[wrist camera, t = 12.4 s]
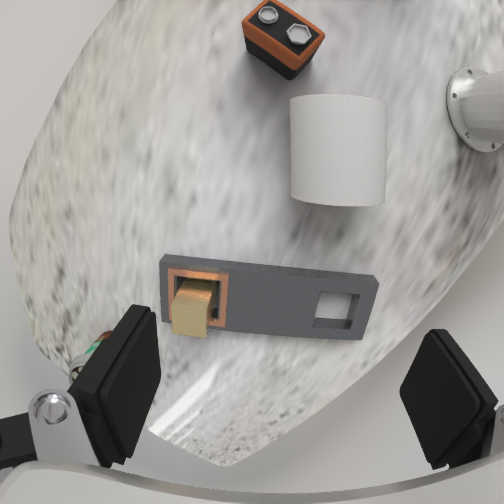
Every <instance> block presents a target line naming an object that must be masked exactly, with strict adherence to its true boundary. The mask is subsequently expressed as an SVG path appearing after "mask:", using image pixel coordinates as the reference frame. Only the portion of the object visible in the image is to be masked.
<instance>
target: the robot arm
mask: <svg viewBox="0 0 504 504" xmlns="http://www.w3.org/2000/svg"><path fill="white" fill-rule="evenodd" d="M447 106H448V111H449V115H450V118H451V121H452V124H453V126H454V128H455V130H456V132H457V133H458V135H459V136H460V138H461V139H462V140H463V141H464V142H465V143H466V144H467V145H468V146H469V147H471V148H472V149H474V150H476V151H480V152H487V153H488V152H493V151H495V150H497V149H499V148H500V147H501V146H502V144H504V71H503V72H497V73H491V74H488V73H486V72H485V71H484V70H482V69H479V68H476V67H465V68H462V69H460V70H458V71H457V72H455V74H454V75H453V76H452V78H451V80H450V82H449V85H448V89H447ZM160 380H161V367H160V358H159V348H158V337H157V325H156V314H155V312H151V310H150V308H149V307H147V306H141V305H135V304H133V305H131V306H130V308H129V309H128V311H127V312H126V313H125V315H124V316H123V317H122V319H121V320H120V322H119V323H118V324H117V326H116V327H115V329H114V330H113V331H112V333H111V334H110V336H109V337H108V339H107V338H105V339H103V340H102V341H101V342H100V344H99V345H98V347H97V348H96V349H95V351H94V352H93V354H92V355H91V357H90V358H89V359H88V361H87V362H86V364H85V365H84V367H83V368H82V370H81V371H80V373H79V374H78V376H77V377H76V379H75V380H74V382H73V383H72V385H71V386H70V388H69V389H68V391H67V392H65V391H63V390H60V389H47V390H44V391H41V392H39V393H38V394H36V395H35V396H34V397H33V398H32V400H31V401H30V404H29V408H28V412H27V413H23V414H20V415H15V416H12V417H7V418H3V419H0V504H504V405H501V406H499V408H498V409H497V410H496V411H495V410H494V407H495V406H496V404H497V403H498V399H497V398H496V397H495V395H494V394H493V392H492V390H491V389H490V388H489V386H488V385H487V383H486V382H485V381H484V379H483V378H482V376H481V375H480V374H479V372H478V371H477V369H476V368H475V367H474V365H473V364H472V363H471V361H470V360H469V359H468V357H467V356H466V355H465V353H464V352H463V351H462V349H461V348H460V347H459V345H458V344H457V343H456V342H455V340H454V339H453V338H452V336H451V335H450V334H449V333H448V331H447V330H445V329H432V330H430V331H429V332H428V333H427V334H426V335H425V337H424V339H423V341H422V343H421V346H420V348H419V350H418V352H417V354H416V356H415V359H414V361H413V363H412V365H411V367H410V369H409V371H408V373H407V375H406V377H405V379H404V381H403V383H402V385H401V387H400V397H401V399H402V401H403V404H404V406H405V408H406V411H407V413H408V415H409V417H410V420H411V422H412V425H413V427H414V430H415V432H416V435H417V437H418V439H419V442H420V445H421V447H422V450H423V452H424V455H425V457H426V460H427V462H428V463H430V464H431V466H432V469H433V470H435V469H438V468H442V467H445V466H446V464H449V469H448V470H446V471H443V472H439V473H435V474H431V475H428V476H424V477H420V478H416V479H411V480H407V481H402V482H398V483H392V484H387V485H382V486H375V487H368V488H361V489H353V490H344V491H333V492H319V493H289V494H288V493H283V494H282V493H281V494H280V493H251V492H237V491H226V490H216V489H209V488H202V487H195V486H188V485H182V484H177V483H171V482H166V481H160V480H156V479H151V478H147V477H143V476H139V475H135V474H130V473H125V472H121V471H117V470H113V469H110V467H111V466H112V463H113V462H115V463H118V464H121V465H124V462H125V460H126V457H127V458H131V457H132V455H133V453H134V450H135V447H136V444H137V442H138V439H139V436H140V433H141V431H142V428H143V425H144V423H145V420H146V417H147V415H148V412H149V409H150V407H151V404H152V401H153V399H154V396H155V394H156V391H157V388H158V386H159V383H160Z"/></svg>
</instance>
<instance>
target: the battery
mask: <svg viewBox="0 0 504 504" xmlns="http://www.w3.org/2000/svg"><path fill="white" fill-rule="evenodd" d="M242 28H243V33H244V38H245V44H246V49H247V50H248V51H249V52H250V53H251V54H253V55H254V56H256V57H257V58H259V59H260V60H261V61H263V62H264V63H266V64H267V65H268V66H270V67H271V68H273V69H274V70H275V71H277V72H278V73H279V74H281V75H282V76H283V77H285V78H286V79H287V80H292V79H293V78H294V77H295V76H296V75H297V74H298V73H299V72H300V71H301V70H302V69H303V68H304V67H305V66H306V65H307V64H308V63H309V62H310V61H311V59H312V58H313V56H314V54H315V53H316V51H317V49H318V48H319V46H320V44H321V43H322V41H323V39H324V38H325V34H324V32H322V31H321V30H320V29H319V28H317V27H316V26H314V25H313V24H312V23H310V22H309V21H308V20H306V19H305V18H303V17H302V16H300V15H299V14H297V13H296V12H294V11H293V10H291V9H290V8H288V7H287V6H285V5H284V4H282V3H281V2H279V1H277V0H264V1H263V2H261V3H260V4H259V5H258V6H257V7H256V8H255V9H254V10H253V11H252V12H251V13H250V14H249V15H248V16H246V17H245V18H244V19H243V20H242Z"/></svg>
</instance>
